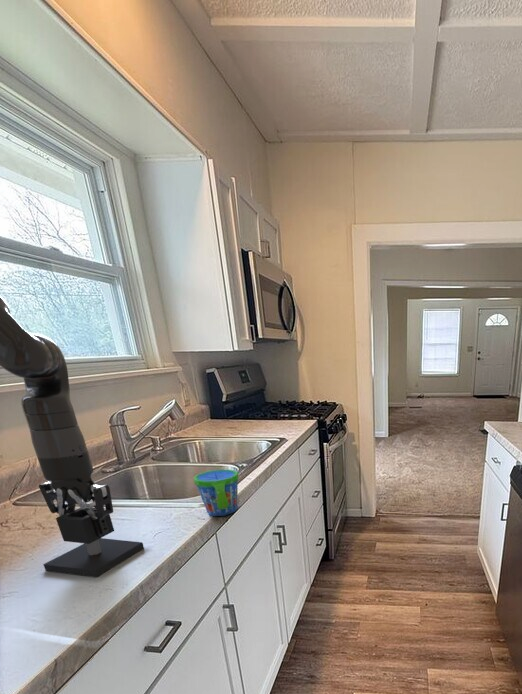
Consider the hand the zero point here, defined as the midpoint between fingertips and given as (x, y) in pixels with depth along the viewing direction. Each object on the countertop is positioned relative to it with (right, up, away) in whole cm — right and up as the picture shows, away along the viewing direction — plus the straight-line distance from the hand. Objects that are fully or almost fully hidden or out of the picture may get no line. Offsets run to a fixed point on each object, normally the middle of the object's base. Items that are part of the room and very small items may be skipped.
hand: (89, 533), depth 80 cm
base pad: (0, -5, +2) cm, 6 cm away
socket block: (0, -1, 0) cm, 1 cm away
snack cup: (+16, +4, +26) cm, 31 cm away
